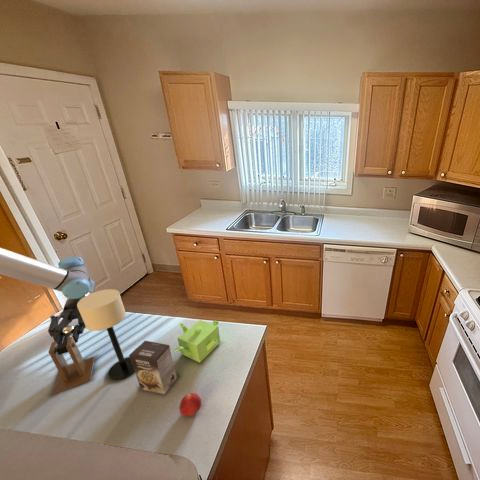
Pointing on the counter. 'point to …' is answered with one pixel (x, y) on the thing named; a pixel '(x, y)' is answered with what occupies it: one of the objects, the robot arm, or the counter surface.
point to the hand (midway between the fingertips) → (66, 342)
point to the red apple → (190, 404)
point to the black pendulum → (65, 340)
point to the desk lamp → (107, 324)
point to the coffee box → (154, 366)
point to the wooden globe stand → (71, 367)
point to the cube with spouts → (198, 340)
